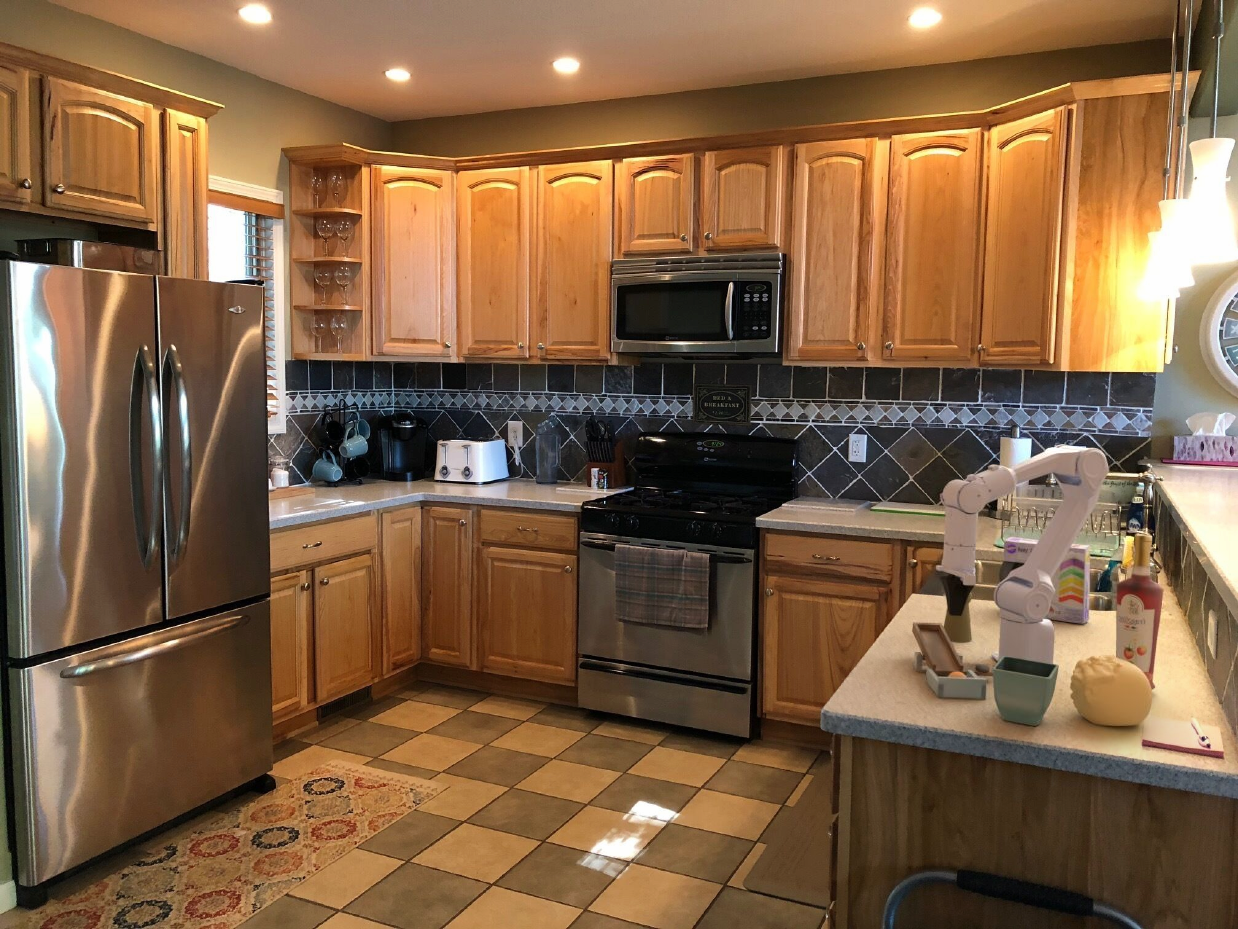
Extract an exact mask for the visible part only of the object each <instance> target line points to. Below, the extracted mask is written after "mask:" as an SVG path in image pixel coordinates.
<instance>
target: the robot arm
mask: <svg viewBox="0 0 1238 929" xmlns="http://www.w3.org/2000/svg"><path fill="white" fill-rule="evenodd" d="M987 468H988V469H987V470H984V471H981V472H979V473H976V474H972V473H971V474H968V475H966V478H965V479H964V480H962V479H953V480H951V481H949V482H948V483H947V484H946V485H945V486H944V488H943V491H942V493H940V494H939V497H940V501H941V504H942V505H943V507H944V515H945V522H944V523H945V524H944V535H943V536H944V538H943V539H944V540H943V554H942V559H941V565H935V569H936V571H938V572H943V573H944V572H945V573H948V575H946V576H945V575H942V576H941V575H940V576H939V580H940V582H941V584H942V587H943V590H944V594H945V599H946V601H945V602H946V606H947V607H948V612H949V614H950V615H951V616H962V613H963V611H964V607H965V604H966V601H967V598H968V596H969V594H970V592H971V593H972V591H973V589H974V588H975V586H976V584H977V582H976V581H977V575H976V568H975V565H976V551H977V550H976V548H977V537H978V519H979V513H980V512H981V511H982V510H983V509H984V508H985V506H986V504H989V503H991V502H993V501H995V500H998V499H1001V498H1003V497H1006V496H1008V495H1011V494H1013V493H1014V491H1015V490H1016V487H1017V485H1019V484H1022V483H1025V482H1027V481H1028V482H1029V481H1031V480H1035V479H1036V478H1039V477H1043V476H1045V475H1049V474H1052V476H1053V478H1054V479H1055V481H1056V483H1057V484H1058V487H1059V488H1060V489H1061V490H1062V494H1063V496H1064V498H1063V500H1062V501H1061V503H1060V505H1059V506H1058V507H1057V509H1056V511H1055V513H1054V514H1053V515H1052V518H1051V519H1050V521H1049V522H1048V524H1047V526H1046V528H1045V529H1044V531H1043V532H1042V534H1041V536H1039V539H1038V540H1039V541H1038V542H1037V544H1036V546H1035V547H1034V549H1033V551H1032V552H1031V554H1030V556H1029V557H1028V559H1027V561H1026V562H1025V564H1024V565H1023V566H1021V567H1019V568H1017V569H1015V570H1013V571H1011V572H1010V573H1009V575H1008V576H1007V578H1006V579H1005V580H1003V581H1002V582H1000V581H999V583H998V584H997V585H996V587H995V588H994V591H993V601H994V603H995V605H996V606H997V608H998V609H999V612H998V614H999V615H1000V623H999V639H998V640H999V643H998V653H991V657H992V658H993V659H994V660H995V661H997V662H998V661H999V660H1000V658H1001V657H1002V656H1010V657H1016V658H1022V659H1027V660H1033V661H1039V662H1046V663H1052V664H1054V654H1055V653H1054V652H1055V636H1056V635H1055V628H1054V625H1053V622H1052V621H1051V619H1044V617H1045V616H1046V615H1047V614H1048V612H1049V610H1050V605H1051V600H1052V597H1053V595H1054V594H1055V589H1054V587H1053V584H1052V582H1051V579H1052V577H1053V575H1054V574H1055V572H1056V570H1057V569H1058V567H1059V565H1060V564H1061V562H1062V560H1063V559H1064V557H1065V555H1066V554H1067V552H1068V550H1069V549H1070V547H1071V545H1072V544H1074V542H1075V540H1076V538H1077V537H1078V535H1079V534H1080V532H1081V531H1082V529H1083V527H1084V526H1085V523H1086V522H1087V521H1088V519H1089V517H1090V516H1091V514H1092V512H1093V510H1094V509H1095V507H1096V505H1097V503H1098V501H1099V497H1100V496H1099V495H1100V492H1101V488H1102V484H1103V483H1104V481H1105V479H1106V478H1107V476H1108V474H1109V472H1110V468H1109V464H1108V460H1107V457H1106V455H1105V453H1104V452H1103V450H1101V449H1099V448H1095V447H1081V446H1072V445H1068V444H1057V445H1055V447H1053V446H1052V447H1048V448H1046V449H1045V450H1044V451H1043V452H1041V453H1039V454H1036V455H1034V456H1032V457H1030V458H1028V459H1025V460H1024V461H1022V462H1019V463H1017V464H1015V465H1013V466H1010V467H1008V466H1007V467H1006V466H1004V465H998V464H990V465H988V467H987ZM947 607H946V608H947ZM997 662H996V663H997Z"/></svg>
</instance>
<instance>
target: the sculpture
mask: <svg viewBox="0 0 1238 929" xmlns="http://www.w3.org/2000/svg"><path fill="white" fill-rule="evenodd" d="M1070 681H1071V682H1070V686H1069V688H1070V690H1071V691H1072V692H1071V693H1070V698H1071V700H1073V701H1072V703H1073V706H1074V707H1075V708H1076V711H1077V713H1079V714H1080V715H1082V716H1083V717H1084V718H1085V719H1086V720H1087V721H1088V722H1090V723H1092V724H1095V725H1099V726H1105V727H1106V726H1107V727H1108V726H1109V727H1131V726H1138V725H1140V724H1141V723H1143V722H1144V721H1145V720H1146V718H1147V717H1148V715H1149V714H1150V711H1151V709H1152V704H1153V690H1152V689H1151V686H1150V683H1149V680H1148V679H1147V677H1146V675H1145V674H1144V673H1143V672H1142V671H1141V670H1140V669H1139V668H1138V667H1137V666H1135V665H1134V664H1132V663H1130V662H1128V661H1125V660H1122V659H1119V658H1117V657H1116V655H1115V654H1111V653H1110V654H1102V655H1095V656H1094V655H1092V656H1090V657H1088V658H1085V659H1079V660H1078V661H1077V662H1076V664H1075V666H1074V669H1073V671H1072V674H1071V677H1070Z"/></svg>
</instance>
